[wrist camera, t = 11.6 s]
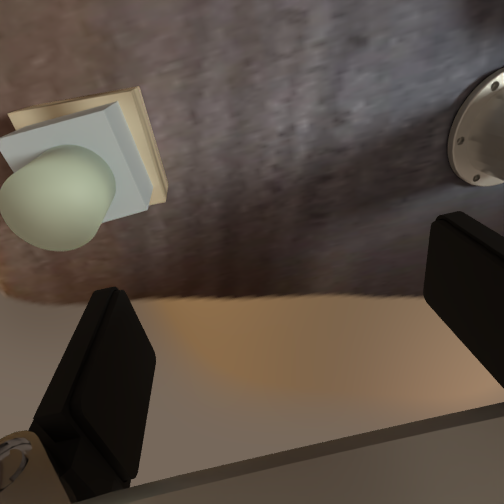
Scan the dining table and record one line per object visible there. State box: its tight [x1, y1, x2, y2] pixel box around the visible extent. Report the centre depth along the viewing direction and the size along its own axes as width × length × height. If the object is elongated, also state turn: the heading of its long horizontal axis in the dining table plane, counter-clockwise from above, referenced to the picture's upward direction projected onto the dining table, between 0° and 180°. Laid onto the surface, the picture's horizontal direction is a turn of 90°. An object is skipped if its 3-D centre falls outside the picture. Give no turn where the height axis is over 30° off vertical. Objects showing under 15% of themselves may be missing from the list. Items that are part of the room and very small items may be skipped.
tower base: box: [7, 86, 168, 205], centre depth 29 cm, size 9×9×5 cm
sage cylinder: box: [0, 145, 116, 251], centre depth 20 cm, size 5×5×5 cm
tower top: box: [0, 101, 153, 223], centre depth 24 cm, size 7×7×5 cm
